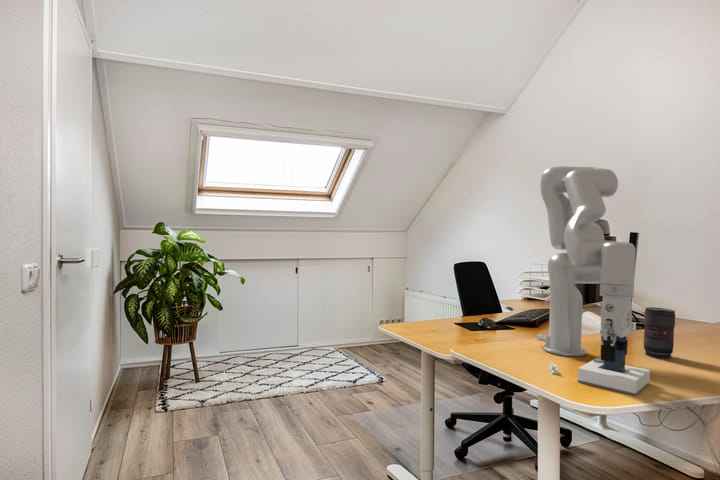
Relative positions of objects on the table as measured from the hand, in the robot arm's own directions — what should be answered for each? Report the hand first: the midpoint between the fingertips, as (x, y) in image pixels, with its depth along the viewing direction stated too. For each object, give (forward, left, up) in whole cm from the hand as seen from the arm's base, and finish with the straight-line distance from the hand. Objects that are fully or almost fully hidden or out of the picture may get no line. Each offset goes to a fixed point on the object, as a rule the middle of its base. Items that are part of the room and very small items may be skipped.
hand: (614, 357), depth 116 cm
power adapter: (-12, -3, -7) cm, 15 cm away
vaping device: (0, 0, -6) cm, 6 cm away
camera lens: (+2, +40, -7) cm, 41 cm away
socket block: (0, 0, -6) cm, 6 cm away
